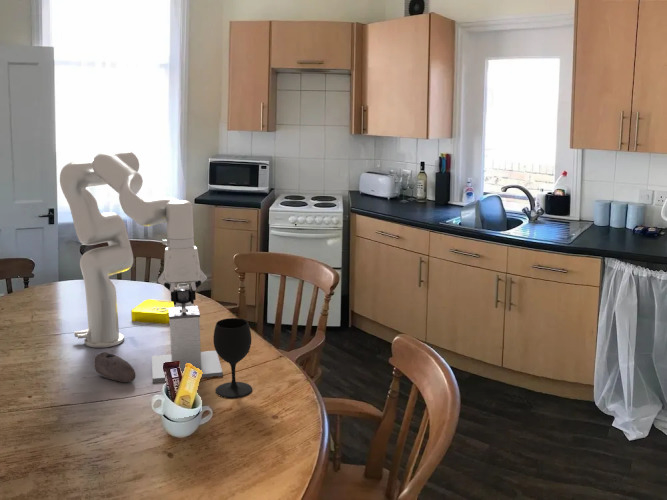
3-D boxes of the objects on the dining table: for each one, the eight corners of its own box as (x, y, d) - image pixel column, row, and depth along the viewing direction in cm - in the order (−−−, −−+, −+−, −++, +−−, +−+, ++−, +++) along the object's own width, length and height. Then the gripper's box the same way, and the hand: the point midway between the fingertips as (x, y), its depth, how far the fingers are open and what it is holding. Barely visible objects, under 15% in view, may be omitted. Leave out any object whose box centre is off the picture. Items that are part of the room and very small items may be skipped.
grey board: (152, 382, 212) (152, 378, 212) (151, 359, 229) (151, 356, 228) (222, 376, 217) (222, 372, 216) (216, 354, 234) (216, 350, 233)
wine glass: (216, 383, 211) (214, 317, 207) (252, 382, 212) (251, 316, 208) (213, 399, 201) (211, 329, 197) (252, 397, 202) (250, 329, 198)
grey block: (171, 370, 217) (169, 316, 213) (170, 356, 228) (167, 304, 224) (202, 368, 219) (199, 314, 215) (199, 353, 230) (197, 302, 226)
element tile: (184, 312, 276) (184, 299, 275) (169, 325, 261) (168, 312, 260) (147, 309, 278) (146, 297, 277) (129, 322, 264) (128, 309, 263)
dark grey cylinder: (178, 355, 219) (175, 292, 214) (177, 350, 223) (174, 288, 218) (193, 354, 220) (190, 291, 215) (192, 348, 224) (189, 287, 220)
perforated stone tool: (141, 382, 212) (140, 359, 210) (127, 388, 208) (126, 365, 206) (107, 370, 220) (106, 349, 219) (93, 376, 216) (91, 354, 214)
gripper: (151, 247, 208) (154, 309, 212) (211, 244, 212) (213, 304, 216) (150, 241, 215) (154, 301, 219) (208, 238, 219) (211, 297, 224)
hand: (183, 302), depth 218 cm, fingers closed on dark grey cylinder, 4 cm apart
